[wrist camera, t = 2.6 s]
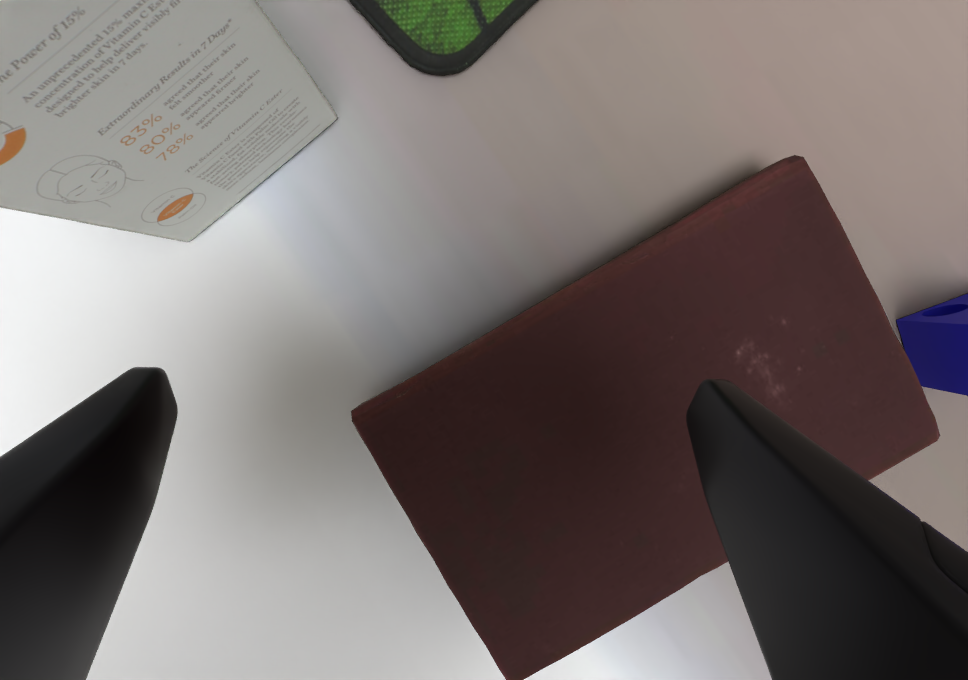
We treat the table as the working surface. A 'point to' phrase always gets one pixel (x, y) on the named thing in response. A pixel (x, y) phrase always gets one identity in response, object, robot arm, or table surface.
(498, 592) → the book
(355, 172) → the table surface
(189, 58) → the small box
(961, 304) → the cable clip
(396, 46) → the mouse mat
